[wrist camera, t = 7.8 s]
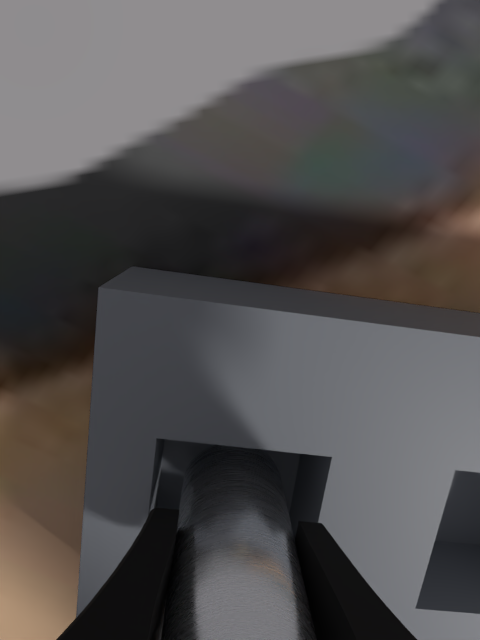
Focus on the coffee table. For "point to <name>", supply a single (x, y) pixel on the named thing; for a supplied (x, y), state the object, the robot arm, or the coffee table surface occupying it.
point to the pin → (235, 554)
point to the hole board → (296, 426)
